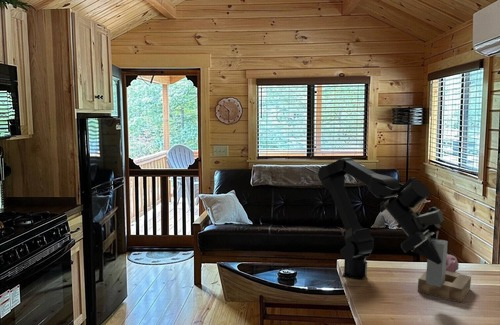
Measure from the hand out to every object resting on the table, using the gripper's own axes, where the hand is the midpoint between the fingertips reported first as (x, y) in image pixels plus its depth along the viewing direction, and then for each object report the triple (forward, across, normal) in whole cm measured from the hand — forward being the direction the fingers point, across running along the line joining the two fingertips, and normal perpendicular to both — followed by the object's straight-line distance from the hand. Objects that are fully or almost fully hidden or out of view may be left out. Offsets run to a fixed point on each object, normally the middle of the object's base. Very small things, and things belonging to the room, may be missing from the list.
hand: (442, 261), depth 121 cm
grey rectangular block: (+4, 0, +6) cm, 7 cm away
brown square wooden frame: (+8, +12, +10) cm, 18 cm away
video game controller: (+6, +28, +13) cm, 32 cm away
